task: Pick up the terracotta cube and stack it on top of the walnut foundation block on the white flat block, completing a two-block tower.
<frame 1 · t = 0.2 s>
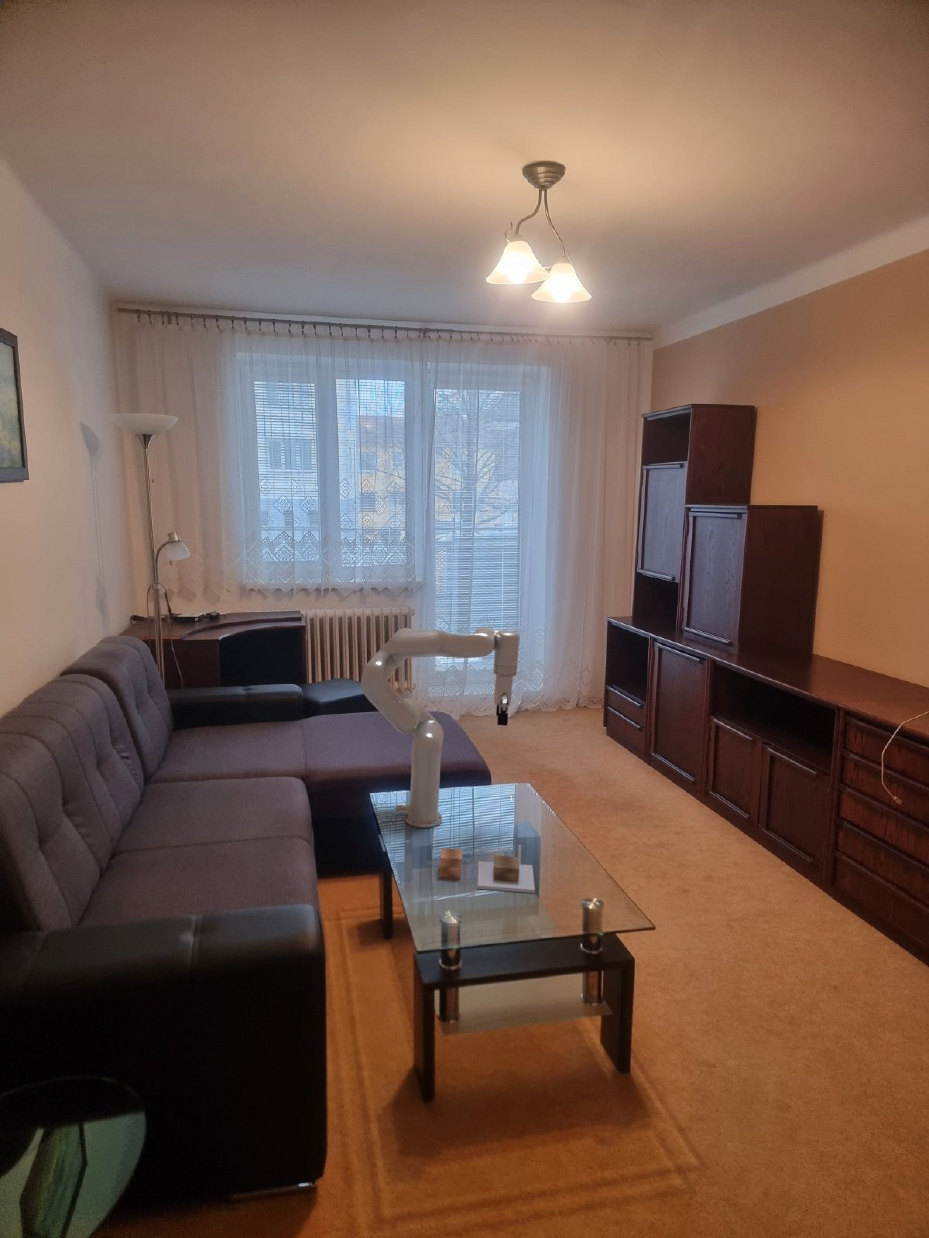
hand: (501, 720, 247), 36 cm above the table, tool pointing down, fingers open, 9 cm apart
white flat block: (505, 878, 219), on the table
terracotta cube: (450, 872, 221), on the table
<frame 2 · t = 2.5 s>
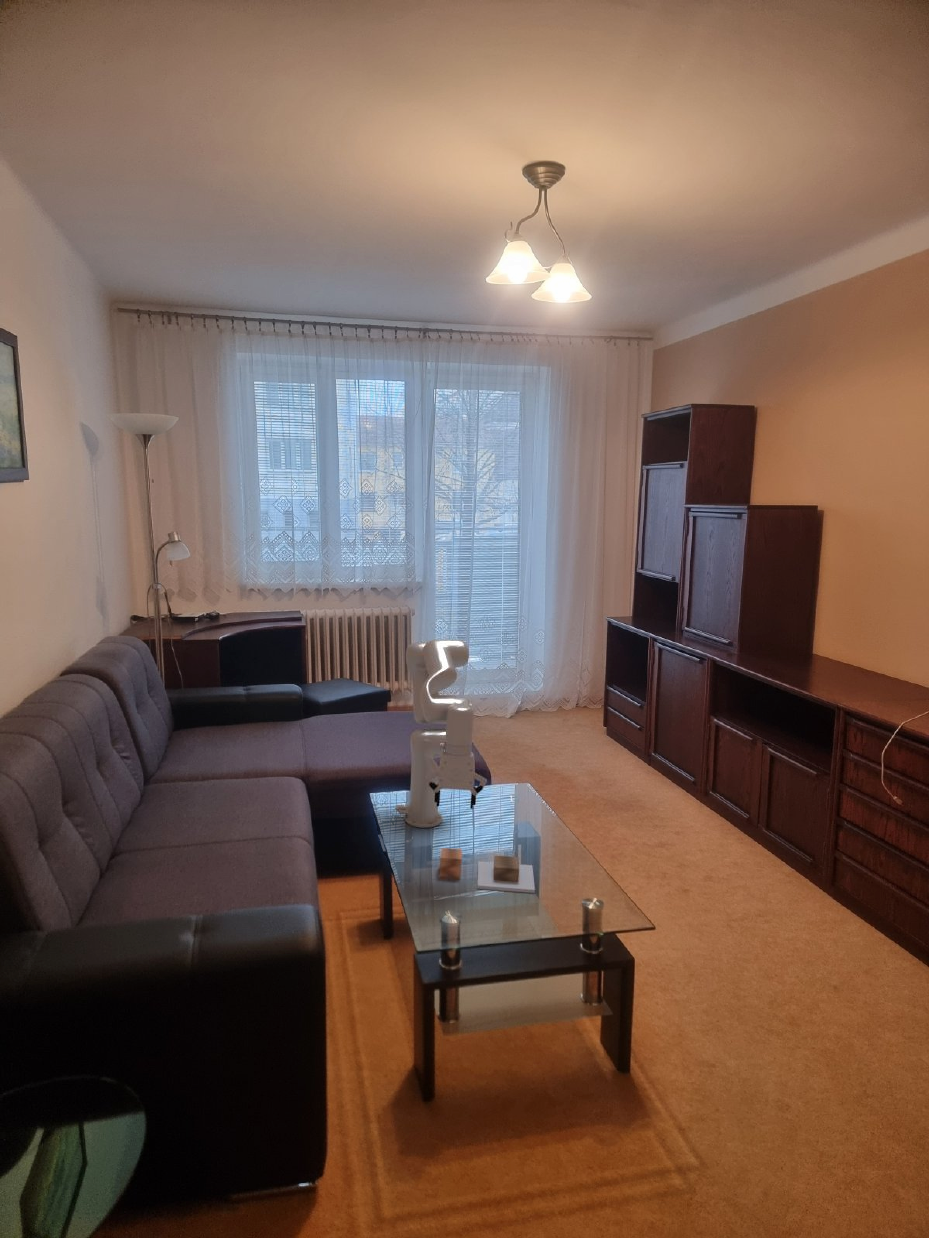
hand: (454, 805, 217), 21 cm above the table, tool pointing down, fingers open, 9 cm apart
nothing on the table moved.
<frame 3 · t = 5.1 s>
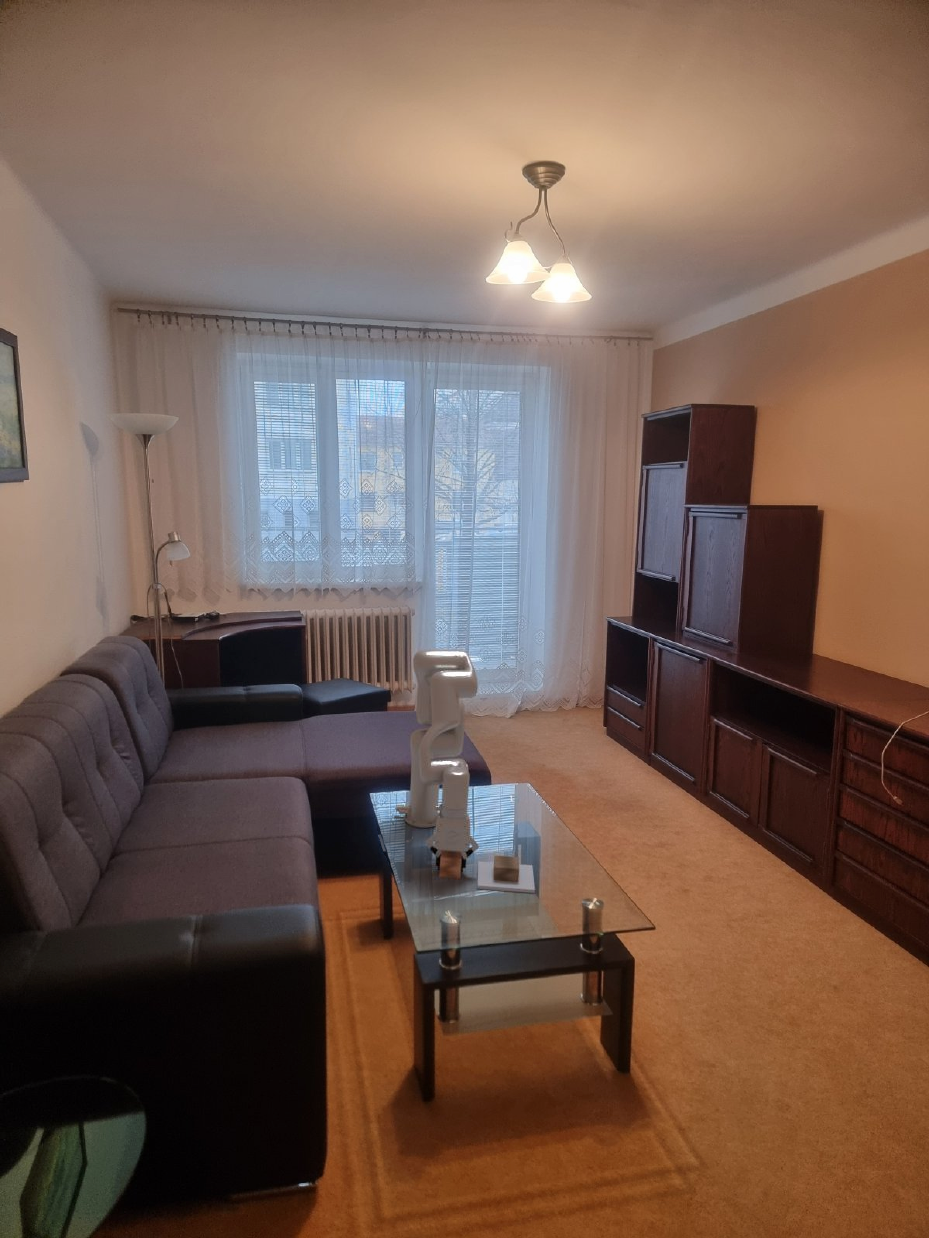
hand: (450, 868, 221), 1 cm above the table, tool pointing down, fingers closed on terracotta cube, 6 cm apart
terracotta cube: (450, 872, 221), on the table, touching gripper
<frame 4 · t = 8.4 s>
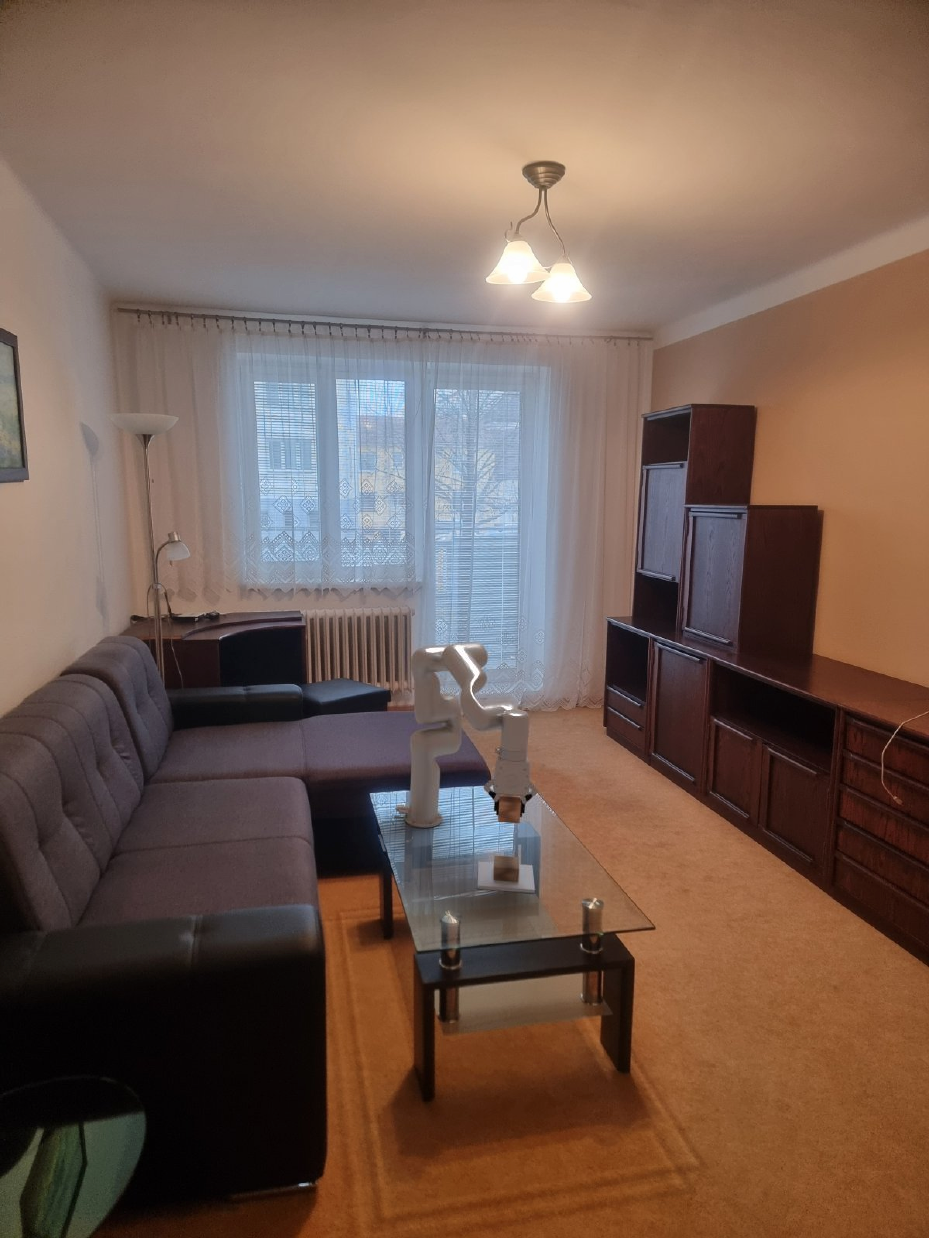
hand: (509, 813, 216), 20 cm above the table, tool pointing down, fingers closed on terracotta cube, 6 cm apart
terracotta cube: (508, 818, 216), point 18 cm above the table, touching gripper
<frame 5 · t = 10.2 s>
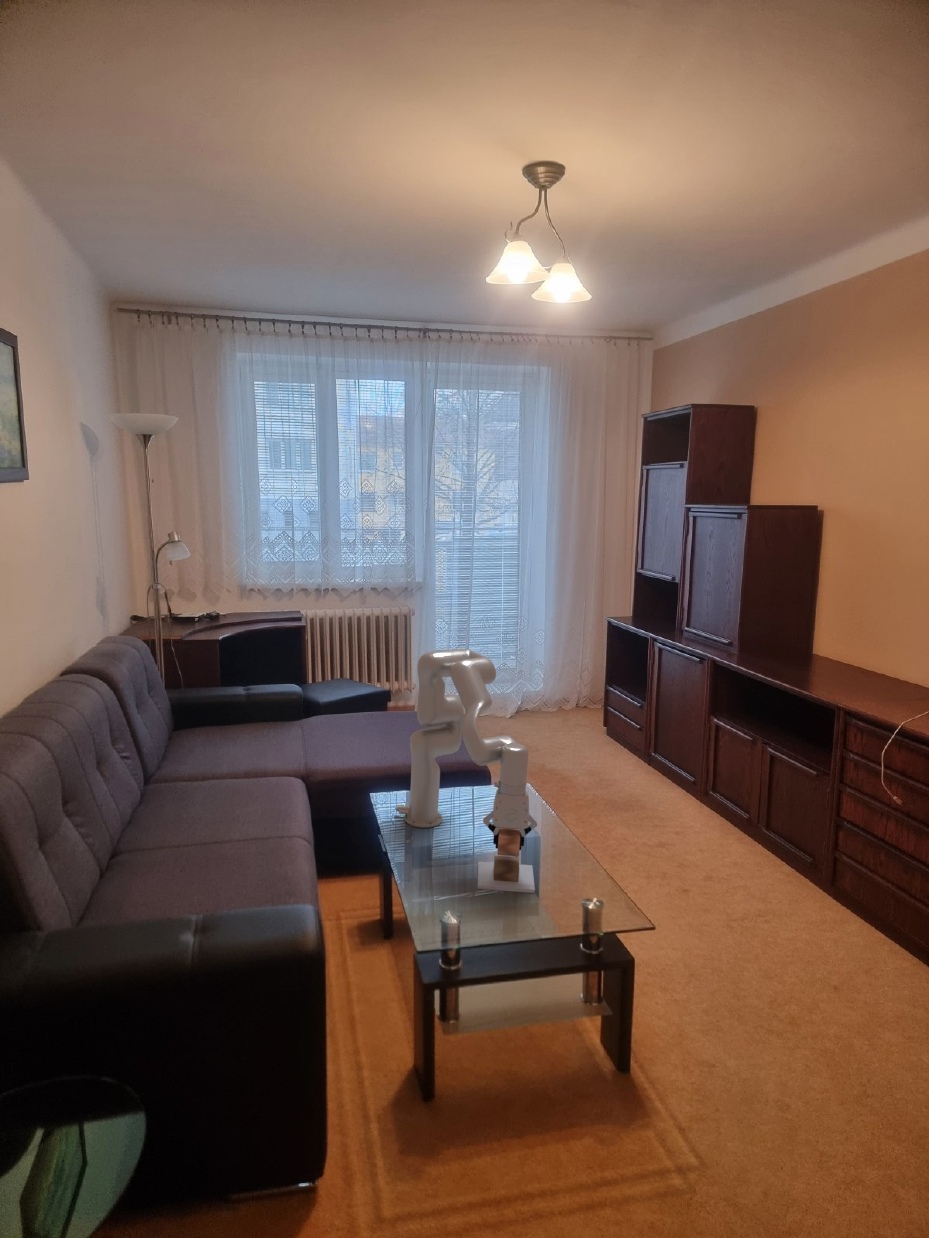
hand: (508, 846, 218), 10 cm above the table, tool pointing down, fingers closed on terracotta cube, 6 cm apart
terracotta cube: (508, 850, 218), point 9 cm above the table, touching gripper
when the fingers open (8 cm above the table, at t = 11.6 s): terracotta cube drops 1 cm, resting on white flat block.
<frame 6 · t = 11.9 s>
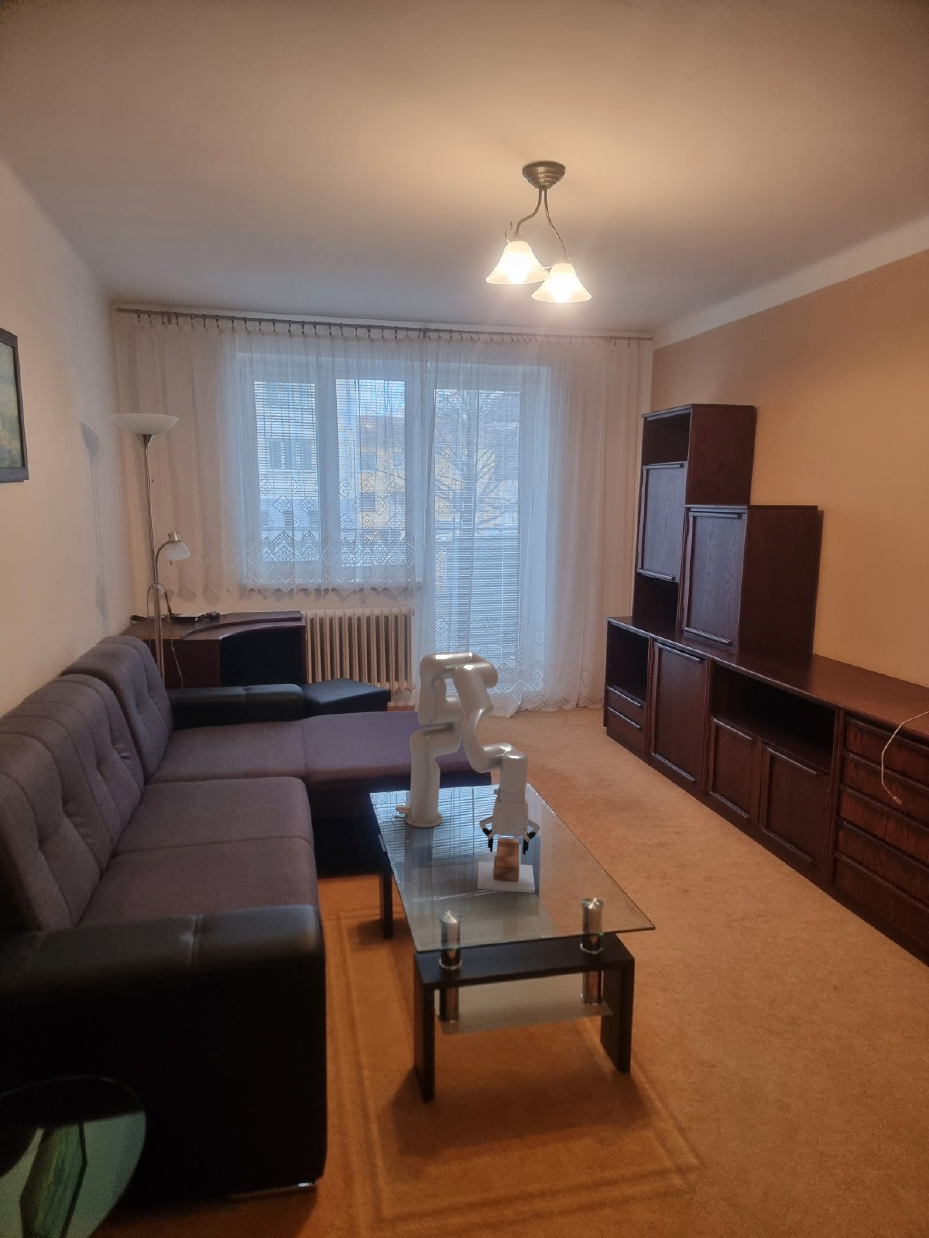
hand: (507, 851, 218), 8 cm above the table, tool pointing down, fingers open, 9 cm apart
terracotta cube: (506, 862, 219), point 5 cm above the table, touching white flat block
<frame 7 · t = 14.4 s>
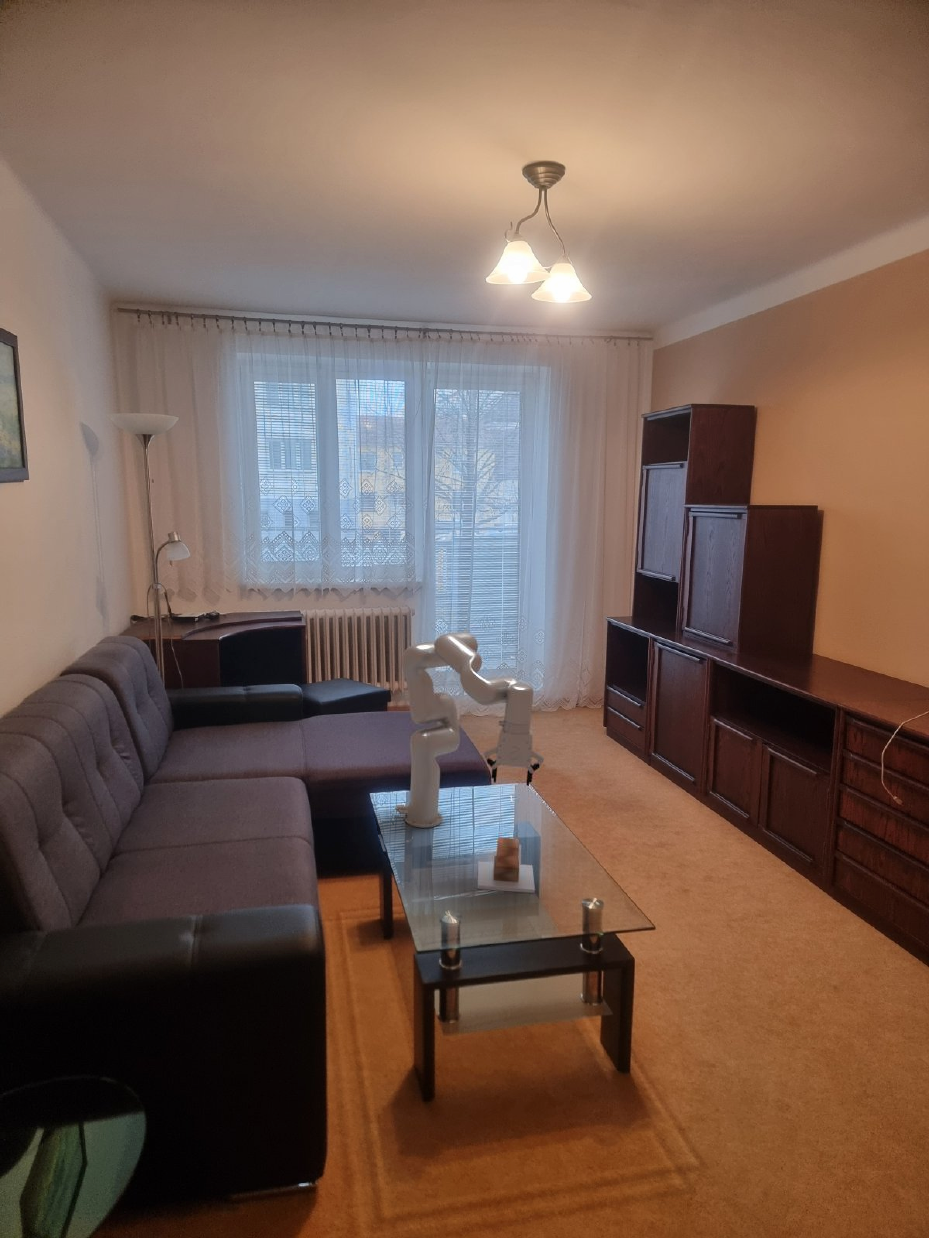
hand: (511, 782, 222), 26 cm above the table, tool pointing down, fingers open, 9 cm apart
nothing on the table moved.
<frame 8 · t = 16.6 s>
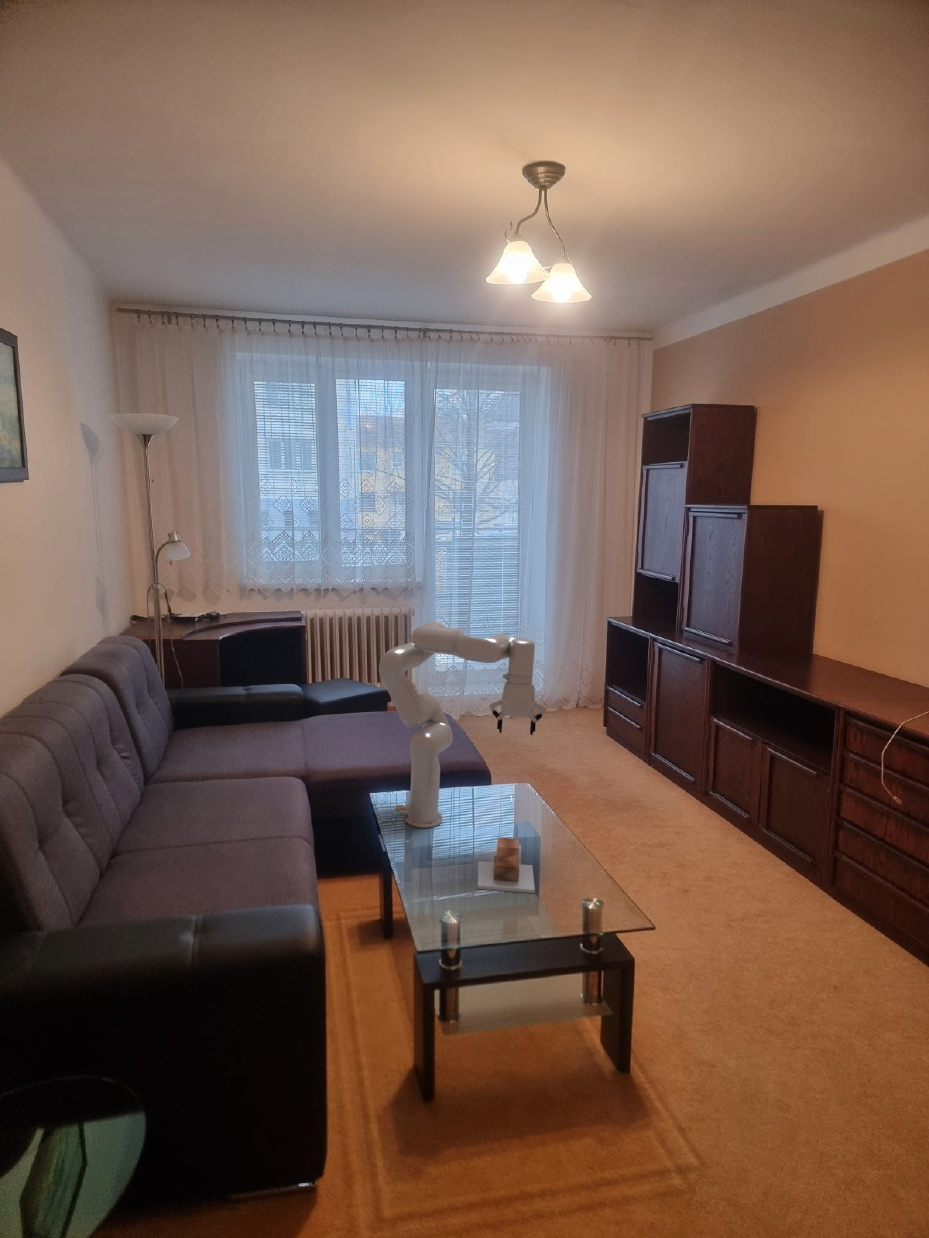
hand: (515, 732, 236), 36 cm above the table, tool pointing down, fingers open, 9 cm apart
nothing on the table moved.
at the end: terracotta cube 0.0 cm off-centre on the white flat block, point 5.0 cm above the white flat block's base; terracotta cube tilted 0°; the gripper is holding nothing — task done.
